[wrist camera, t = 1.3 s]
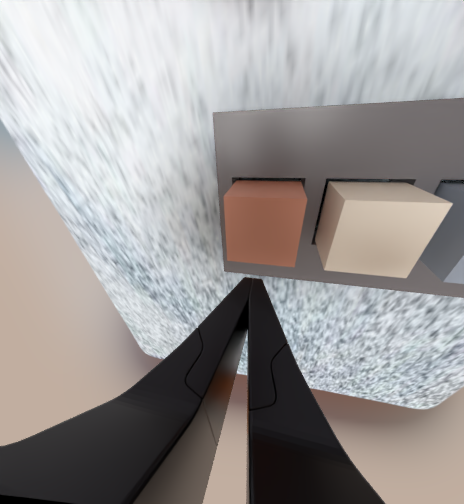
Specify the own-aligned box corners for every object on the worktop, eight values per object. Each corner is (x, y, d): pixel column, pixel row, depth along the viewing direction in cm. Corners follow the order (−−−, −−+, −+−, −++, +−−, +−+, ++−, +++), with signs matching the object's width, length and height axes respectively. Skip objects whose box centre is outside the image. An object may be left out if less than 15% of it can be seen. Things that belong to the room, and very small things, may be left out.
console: (584, 94, 11) (669, 85, 9) (444, 276, 19) (469, 298, 16) (223, 114, 15) (212, 112, 13) (230, 256, 23) (224, 271, 21)
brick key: (300, 181, 14) (307, 199, 11) (291, 237, 17) (294, 267, 14) (236, 180, 15) (223, 196, 12) (237, 234, 18) (227, 260, 15)
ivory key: (405, 182, 13) (453, 203, 10) (377, 244, 16) (406, 278, 12) (328, 181, 14) (345, 200, 10) (314, 239, 17) (324, 270, 13)
